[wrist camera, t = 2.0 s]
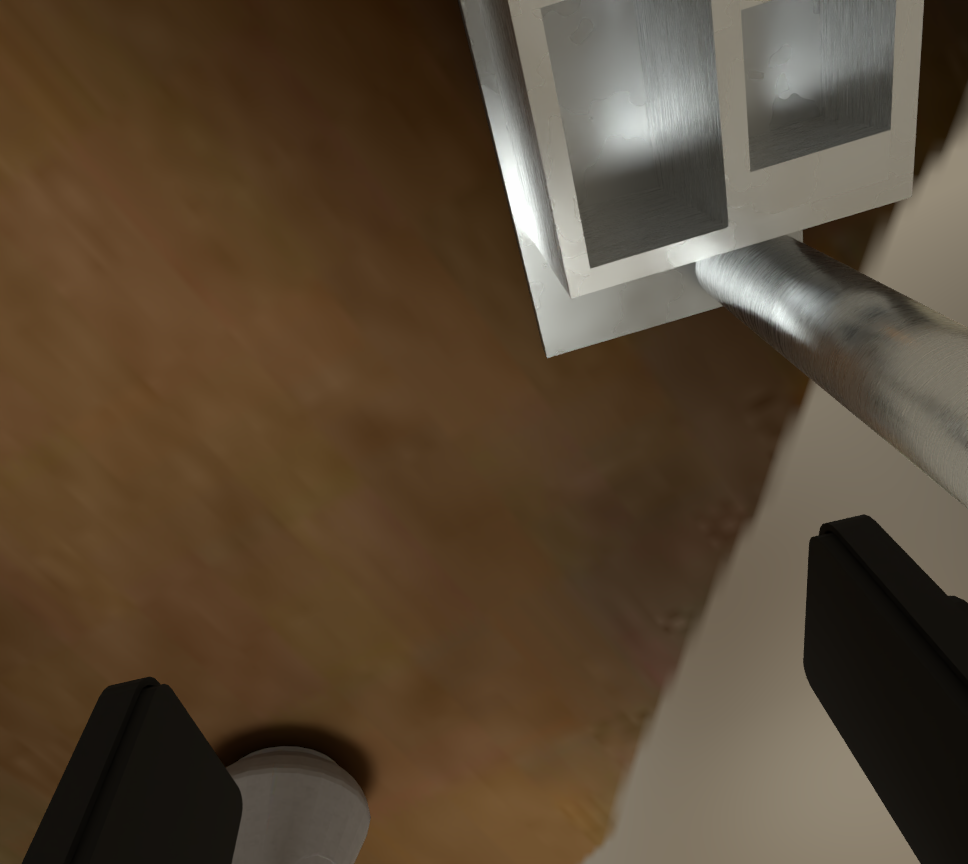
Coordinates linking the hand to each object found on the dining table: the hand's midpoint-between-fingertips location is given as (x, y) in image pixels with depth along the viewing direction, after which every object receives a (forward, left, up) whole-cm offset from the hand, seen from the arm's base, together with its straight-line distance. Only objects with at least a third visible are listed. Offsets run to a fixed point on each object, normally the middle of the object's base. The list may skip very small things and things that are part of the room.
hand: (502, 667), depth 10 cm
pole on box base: (-2, +10, -22) cm, 24 cm away
